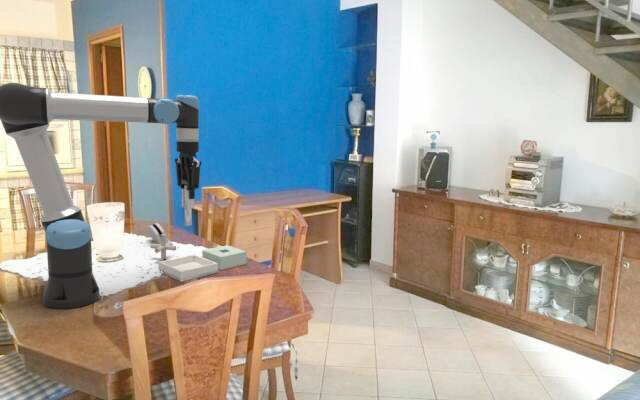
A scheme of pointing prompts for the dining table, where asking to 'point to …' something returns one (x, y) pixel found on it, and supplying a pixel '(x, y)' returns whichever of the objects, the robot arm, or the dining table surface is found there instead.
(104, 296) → the dining table surface
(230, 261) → the block
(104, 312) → the dining table surface
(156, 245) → the pipe connector
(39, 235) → the dining table surface
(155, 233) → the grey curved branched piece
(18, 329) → the dining table surface
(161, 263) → the tray
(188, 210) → the steel pin
